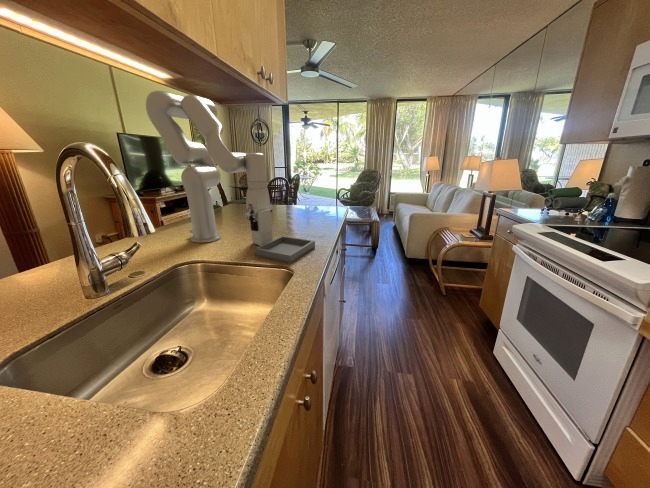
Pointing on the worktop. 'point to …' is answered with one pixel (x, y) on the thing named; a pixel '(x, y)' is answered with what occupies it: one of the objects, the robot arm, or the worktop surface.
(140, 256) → the worktop surface
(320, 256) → the worktop surface
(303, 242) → the tray
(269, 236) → the skincare box
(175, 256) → the worktop surface
